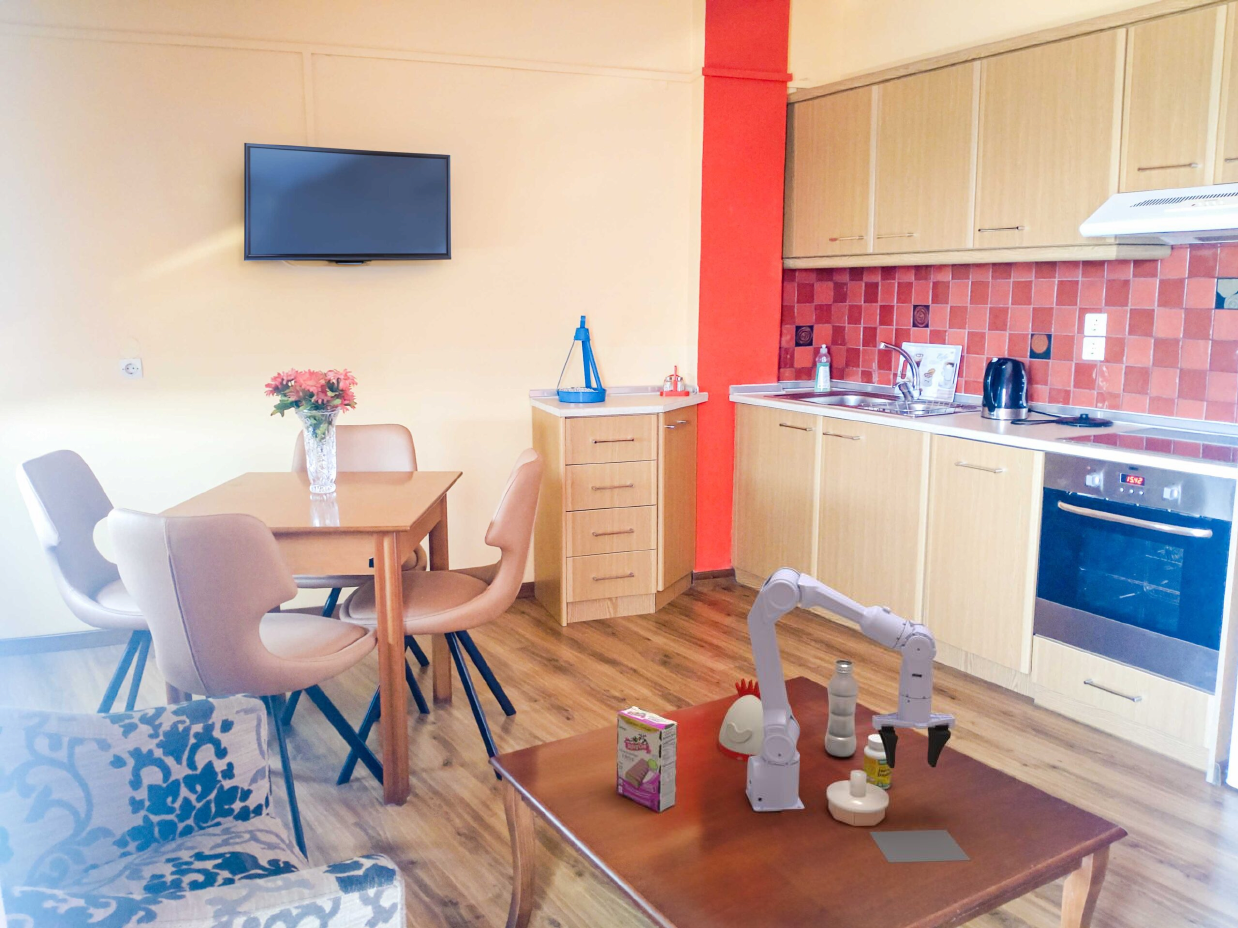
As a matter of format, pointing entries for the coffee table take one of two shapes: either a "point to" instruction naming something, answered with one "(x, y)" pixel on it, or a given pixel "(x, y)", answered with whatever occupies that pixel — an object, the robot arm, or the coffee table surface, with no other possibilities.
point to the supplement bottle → (876, 763)
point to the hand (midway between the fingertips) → (911, 765)
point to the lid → (857, 794)
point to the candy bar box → (646, 758)
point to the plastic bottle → (841, 710)
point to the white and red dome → (743, 724)
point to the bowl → (856, 816)
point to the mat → (918, 846)
